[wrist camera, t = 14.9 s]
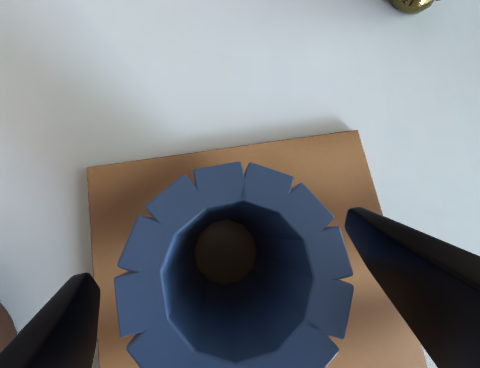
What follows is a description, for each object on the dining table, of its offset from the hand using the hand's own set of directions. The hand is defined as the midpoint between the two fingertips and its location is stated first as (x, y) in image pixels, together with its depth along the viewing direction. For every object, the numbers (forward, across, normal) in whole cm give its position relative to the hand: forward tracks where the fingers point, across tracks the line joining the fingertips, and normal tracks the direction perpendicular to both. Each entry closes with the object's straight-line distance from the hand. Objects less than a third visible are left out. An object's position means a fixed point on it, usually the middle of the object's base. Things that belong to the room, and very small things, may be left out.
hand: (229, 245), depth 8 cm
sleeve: (+4, 0, +5) cm, 6 cm away
